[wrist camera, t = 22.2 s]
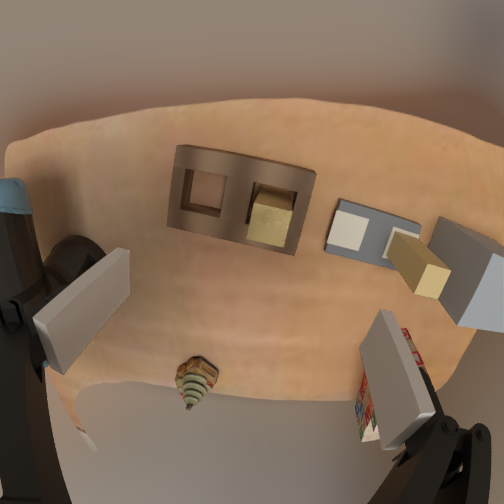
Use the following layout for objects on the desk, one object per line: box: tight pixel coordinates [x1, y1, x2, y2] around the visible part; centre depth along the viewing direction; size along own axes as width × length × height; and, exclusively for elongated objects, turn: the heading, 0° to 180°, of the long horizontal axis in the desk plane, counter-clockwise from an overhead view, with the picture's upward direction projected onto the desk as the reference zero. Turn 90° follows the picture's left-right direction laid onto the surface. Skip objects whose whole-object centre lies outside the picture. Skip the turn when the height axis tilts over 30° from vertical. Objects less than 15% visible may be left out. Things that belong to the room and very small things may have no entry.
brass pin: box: [246, 185, 293, 247], centre depth 30 cm, size 4×4×10 cm
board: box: [324, 198, 451, 299], centre depth 29 cm, size 12×7×11 cm, turn 79°
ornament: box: [175, 357, 219, 410], centre depth 43 cm, size 8×6×10 cm
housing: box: [428, 216, 504, 333], centre depth 27 cm, size 14×9×13 cm, turn 79°
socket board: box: [167, 145, 317, 256], centre depth 33 cm, size 16×10×4 cm, turn 78°
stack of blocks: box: [355, 328, 430, 442], centre depth 38 cm, size 21×6×12 cm, turn 6°
